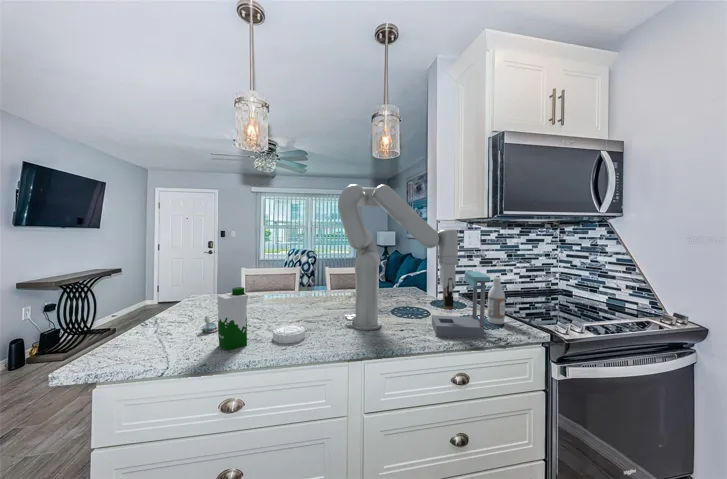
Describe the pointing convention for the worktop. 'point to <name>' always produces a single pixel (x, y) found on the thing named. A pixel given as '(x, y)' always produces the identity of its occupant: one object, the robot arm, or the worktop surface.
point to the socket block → (457, 326)
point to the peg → (444, 301)
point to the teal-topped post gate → (472, 279)
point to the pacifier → (209, 325)
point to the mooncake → (289, 334)
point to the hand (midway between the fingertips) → (448, 304)
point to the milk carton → (232, 319)
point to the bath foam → (496, 303)
